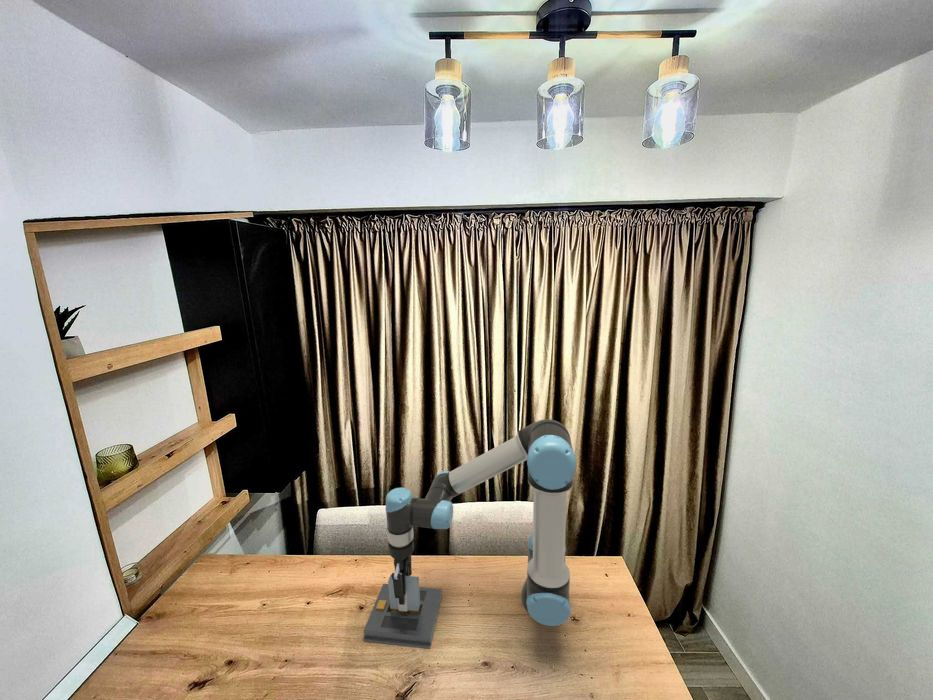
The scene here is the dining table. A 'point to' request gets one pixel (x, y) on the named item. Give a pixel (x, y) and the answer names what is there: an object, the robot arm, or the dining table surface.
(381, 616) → the panel
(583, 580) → the dining table surface
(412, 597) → the panel
